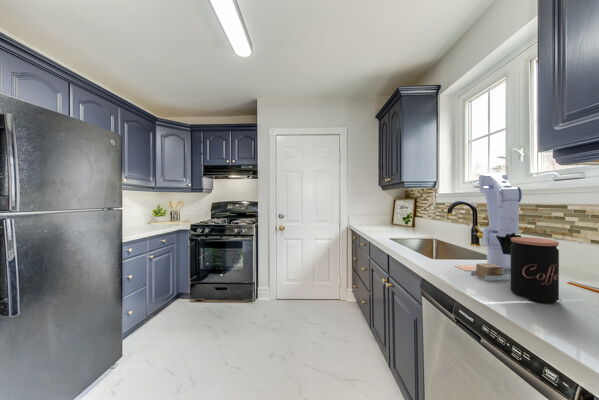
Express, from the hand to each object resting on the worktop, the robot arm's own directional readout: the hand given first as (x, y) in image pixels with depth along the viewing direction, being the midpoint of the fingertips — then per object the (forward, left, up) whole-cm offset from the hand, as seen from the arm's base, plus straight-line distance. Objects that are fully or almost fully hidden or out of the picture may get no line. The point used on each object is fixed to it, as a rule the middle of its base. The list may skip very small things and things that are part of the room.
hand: (508, 253), depth 91 cm
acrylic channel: (+6, 0, -9) cm, 11 cm away
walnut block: (+8, 0, -9) cm, 12 cm away
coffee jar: (+9, +17, -10) cm, 22 cm away
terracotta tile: (+7, -11, -9) cm, 16 cm away
